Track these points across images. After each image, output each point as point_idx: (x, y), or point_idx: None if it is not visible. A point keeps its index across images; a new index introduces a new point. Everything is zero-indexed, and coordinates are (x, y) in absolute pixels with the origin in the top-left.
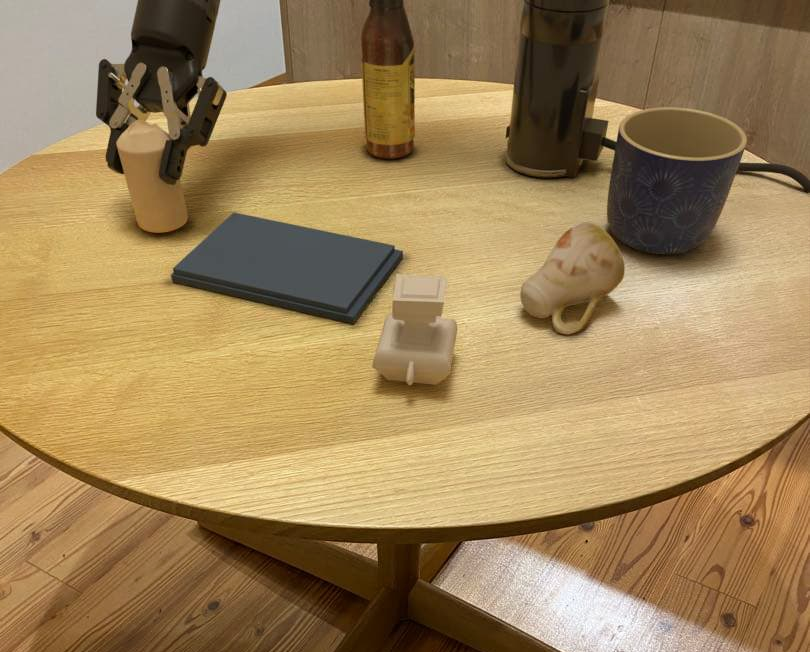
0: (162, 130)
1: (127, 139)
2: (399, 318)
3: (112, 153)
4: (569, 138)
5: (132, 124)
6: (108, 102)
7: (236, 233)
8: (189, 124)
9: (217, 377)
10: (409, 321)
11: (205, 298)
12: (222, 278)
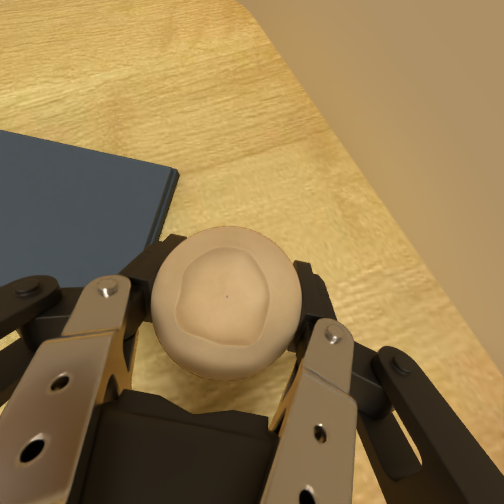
0: (167, 325)
1: (252, 245)
2: None
3: (305, 274)
4: None
5: (264, 317)
6: (407, 420)
7: (103, 257)
8: (22, 305)
9: (97, 50)
10: None
11: (134, 151)
12: (103, 153)
